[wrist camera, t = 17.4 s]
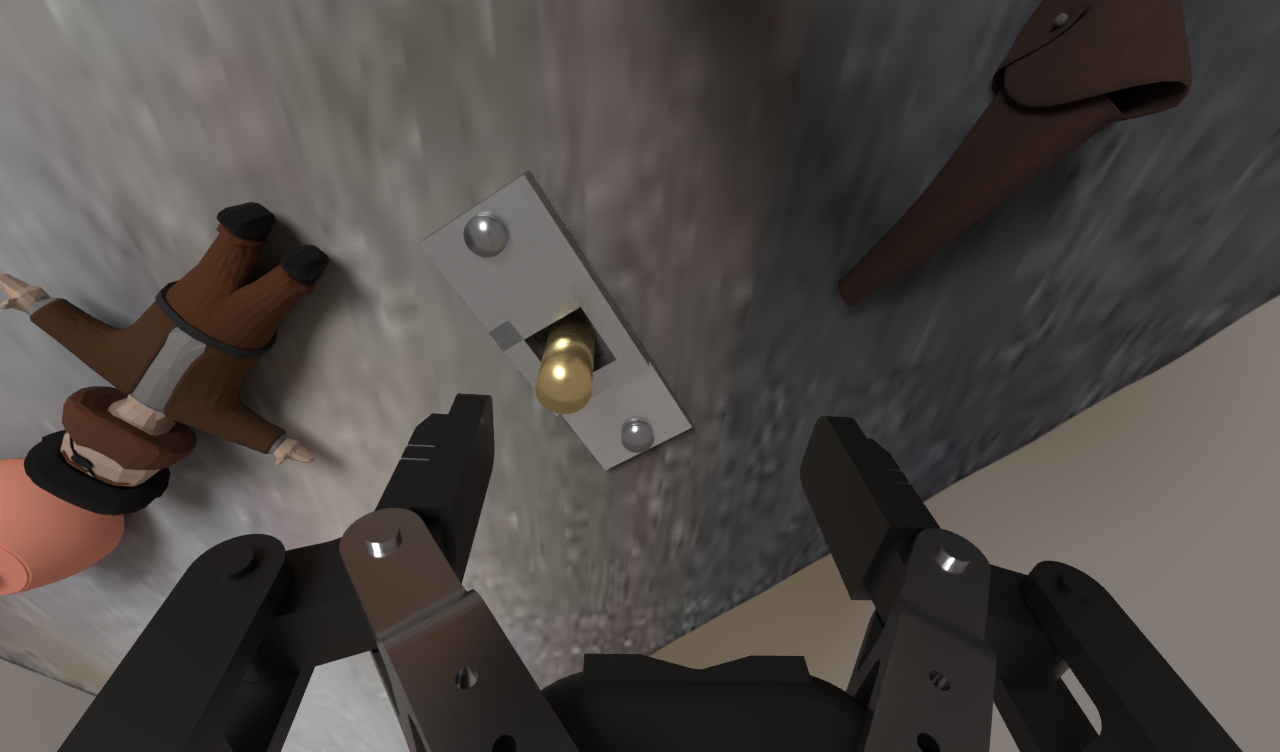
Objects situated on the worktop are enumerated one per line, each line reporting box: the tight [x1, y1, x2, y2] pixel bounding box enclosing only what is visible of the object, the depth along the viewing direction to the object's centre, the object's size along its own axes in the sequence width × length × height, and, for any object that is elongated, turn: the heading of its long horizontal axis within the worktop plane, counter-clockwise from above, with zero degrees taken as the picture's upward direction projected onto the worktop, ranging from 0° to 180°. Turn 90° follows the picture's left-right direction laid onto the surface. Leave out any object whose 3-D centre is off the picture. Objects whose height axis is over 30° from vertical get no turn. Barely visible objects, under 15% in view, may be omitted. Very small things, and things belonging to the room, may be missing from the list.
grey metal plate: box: [418, 170, 692, 470], centre depth 44 cm, size 26×10×3 cm, turn 30°
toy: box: [0, 202, 329, 516], centre depth 42 cm, size 24×10×30 cm
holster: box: [839, 0, 1192, 306], centre depth 37 cm, size 5×16×25 cm
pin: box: [535, 316, 595, 414], centre depth 42 cm, size 4×4×9 cm
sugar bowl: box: [0, 458, 125, 595], centre depth 46 cm, size 12×14×10 cm
